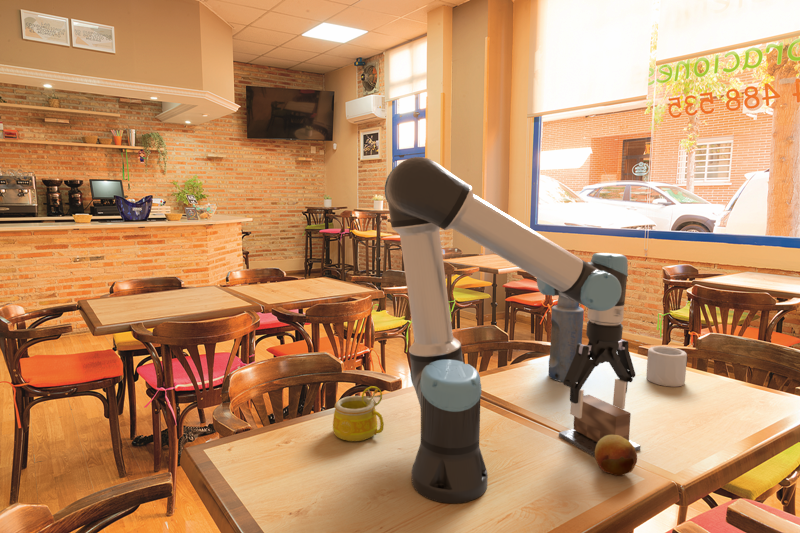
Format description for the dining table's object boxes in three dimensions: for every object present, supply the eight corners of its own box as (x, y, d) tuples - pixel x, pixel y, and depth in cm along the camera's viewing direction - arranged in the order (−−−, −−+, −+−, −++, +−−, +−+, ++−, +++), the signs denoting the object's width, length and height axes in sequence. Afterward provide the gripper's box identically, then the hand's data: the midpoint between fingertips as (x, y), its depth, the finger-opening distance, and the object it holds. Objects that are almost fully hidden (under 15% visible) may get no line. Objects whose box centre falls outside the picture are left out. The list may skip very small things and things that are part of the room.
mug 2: (692, 387, 151) (694, 355, 150) (656, 387, 151) (658, 355, 150) (668, 372, 165) (670, 343, 163) (636, 372, 165) (637, 343, 164)
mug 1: (324, 440, 117) (323, 391, 116) (345, 421, 127) (344, 376, 126) (374, 449, 113) (374, 399, 111) (391, 429, 123) (391, 382, 121)
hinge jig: (601, 461, 108) (602, 446, 107) (558, 436, 119) (559, 422, 119) (640, 449, 113) (641, 435, 112) (595, 426, 124) (596, 413, 124)
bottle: (543, 373, 164) (547, 283, 160) (572, 371, 165) (576, 282, 161) (555, 383, 155) (559, 288, 151) (585, 382, 156) (590, 287, 152)
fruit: (644, 479, 100) (646, 442, 99) (610, 486, 98) (612, 448, 97) (618, 461, 108) (620, 426, 107) (585, 467, 105) (587, 431, 104)
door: (628, 447, 111) (630, 413, 110) (614, 451, 109) (616, 416, 108) (587, 425, 122) (588, 394, 121) (573, 429, 120) (575, 397, 119)
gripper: (576, 330, 104) (569, 426, 106) (657, 321, 114) (648, 409, 117) (550, 322, 110) (544, 413, 113) (629, 314, 121) (622, 397, 124)
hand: (597, 411), depth 115 cm, fingers open, 13 cm apart
